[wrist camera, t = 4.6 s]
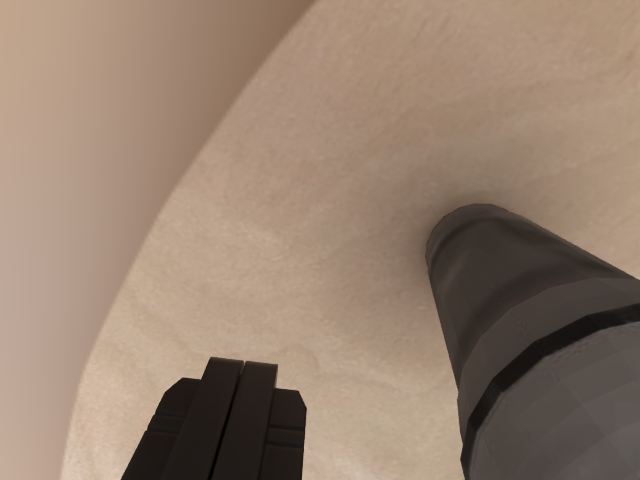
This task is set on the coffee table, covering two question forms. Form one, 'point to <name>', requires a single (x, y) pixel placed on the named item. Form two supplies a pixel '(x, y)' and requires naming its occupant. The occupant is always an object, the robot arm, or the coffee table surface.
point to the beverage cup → (537, 350)
